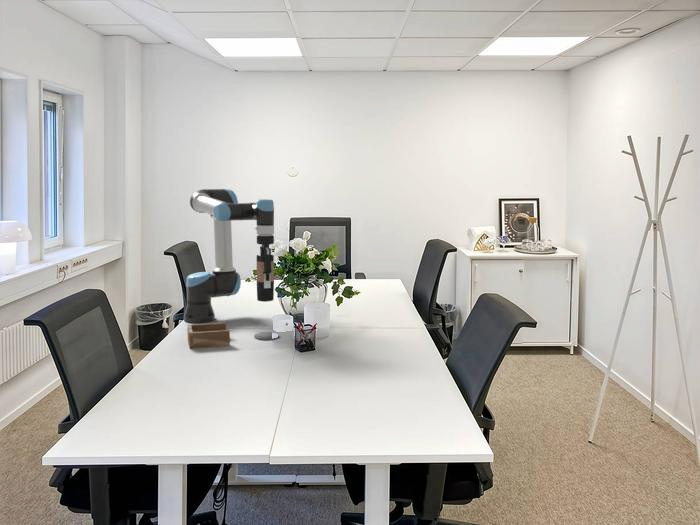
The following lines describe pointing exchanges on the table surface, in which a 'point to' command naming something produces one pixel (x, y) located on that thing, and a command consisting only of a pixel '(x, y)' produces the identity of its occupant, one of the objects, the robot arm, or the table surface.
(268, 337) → the coaster
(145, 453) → the table surface
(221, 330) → the frame
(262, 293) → the travel mug
